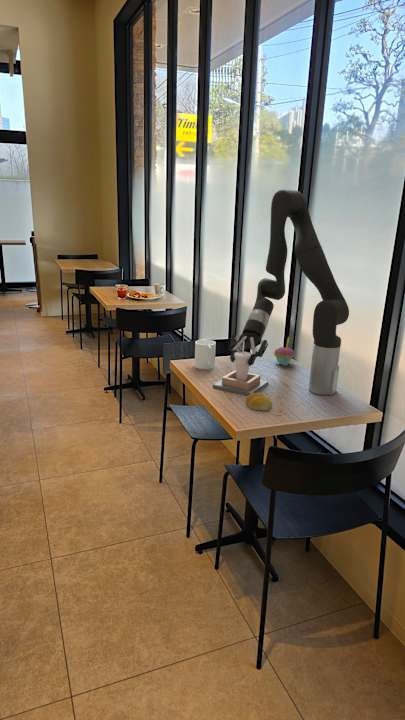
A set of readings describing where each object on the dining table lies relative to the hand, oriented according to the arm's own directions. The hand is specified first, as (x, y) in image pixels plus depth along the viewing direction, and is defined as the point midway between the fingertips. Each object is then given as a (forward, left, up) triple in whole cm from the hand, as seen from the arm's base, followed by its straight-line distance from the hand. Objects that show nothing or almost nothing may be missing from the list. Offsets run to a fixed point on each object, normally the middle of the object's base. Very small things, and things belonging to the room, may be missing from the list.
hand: (240, 362), depth 172 cm
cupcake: (-3, -37, -10) cm, 38 cm away
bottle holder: (0, -2, -9) cm, 9 cm away
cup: (+21, -13, -10) cm, 26 cm away
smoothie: (0, -2, -7) cm, 7 cm away
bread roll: (-13, +12, -10) cm, 20 cm away
